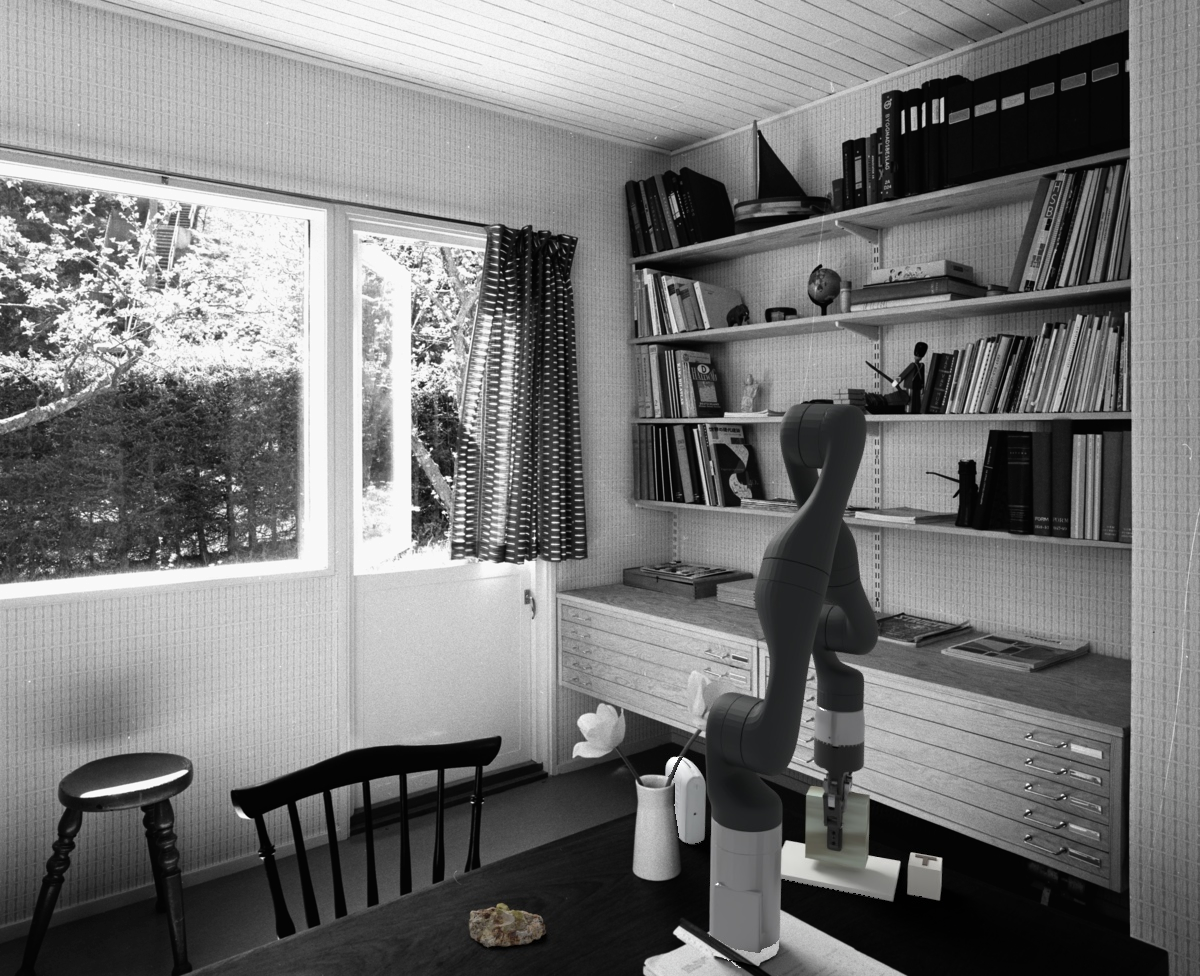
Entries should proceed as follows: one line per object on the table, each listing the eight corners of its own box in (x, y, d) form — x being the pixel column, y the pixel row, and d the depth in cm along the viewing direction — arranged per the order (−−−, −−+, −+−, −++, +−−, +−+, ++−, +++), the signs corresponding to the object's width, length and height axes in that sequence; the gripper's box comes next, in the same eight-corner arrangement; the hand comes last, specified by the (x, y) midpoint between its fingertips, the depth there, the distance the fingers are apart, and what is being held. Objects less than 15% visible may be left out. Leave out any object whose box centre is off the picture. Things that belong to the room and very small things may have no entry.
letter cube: (939, 901, 132) (940, 869, 132) (907, 894, 134) (908, 863, 134) (941, 887, 137) (942, 856, 136) (909, 881, 138) (910, 851, 138)
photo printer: (708, 843, 151) (709, 770, 150) (684, 846, 149) (685, 772, 149) (684, 818, 160) (685, 749, 160) (661, 821, 159) (662, 751, 158)
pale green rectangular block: (864, 869, 137) (866, 804, 137) (805, 857, 141) (806, 794, 140) (868, 857, 141) (869, 794, 140) (809, 847, 144) (811, 785, 144)
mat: (892, 901, 132) (893, 896, 132) (770, 877, 139) (770, 872, 139) (900, 866, 143) (900, 861, 143) (786, 845, 150) (786, 840, 150)
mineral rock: (458, 932, 119) (475, 887, 126) (460, 958, 120) (476, 912, 128) (539, 942, 117) (551, 896, 125) (539, 968, 119) (551, 921, 126)
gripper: (822, 719, 148) (819, 822, 149) (806, 745, 135) (803, 858, 136) (869, 725, 145) (867, 830, 146) (858, 752, 132) (855, 868, 133)
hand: (836, 843), depth 141 cm, fingers closed on pale green rectangular block, 3 cm apart
